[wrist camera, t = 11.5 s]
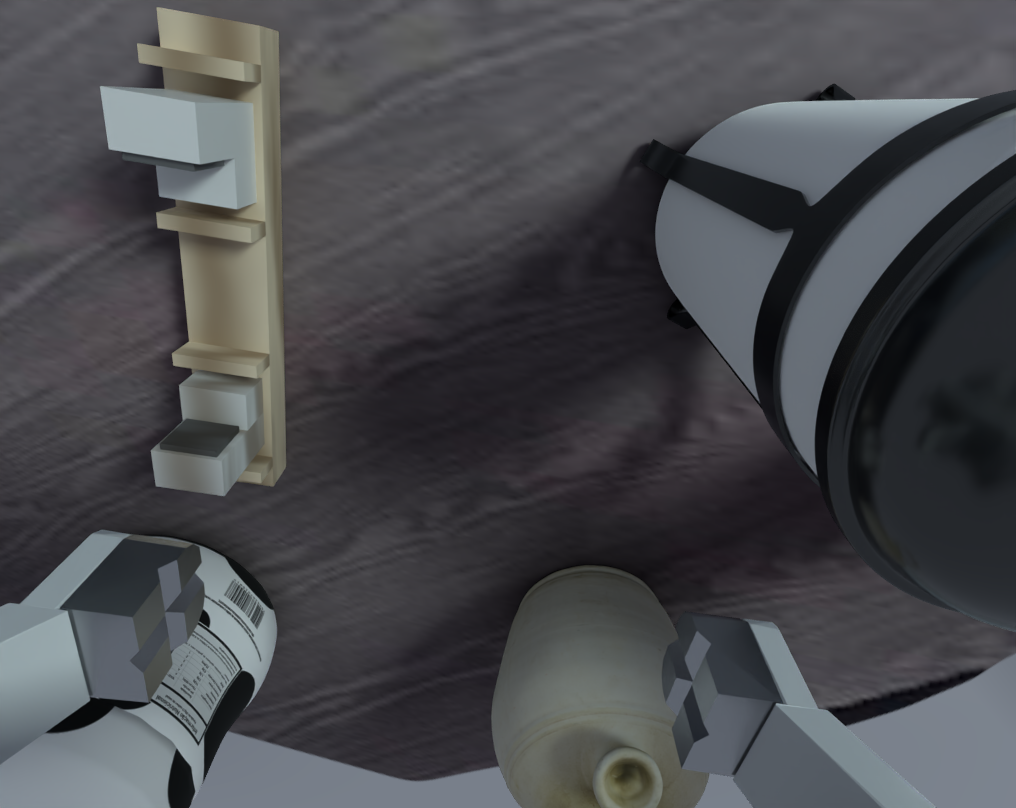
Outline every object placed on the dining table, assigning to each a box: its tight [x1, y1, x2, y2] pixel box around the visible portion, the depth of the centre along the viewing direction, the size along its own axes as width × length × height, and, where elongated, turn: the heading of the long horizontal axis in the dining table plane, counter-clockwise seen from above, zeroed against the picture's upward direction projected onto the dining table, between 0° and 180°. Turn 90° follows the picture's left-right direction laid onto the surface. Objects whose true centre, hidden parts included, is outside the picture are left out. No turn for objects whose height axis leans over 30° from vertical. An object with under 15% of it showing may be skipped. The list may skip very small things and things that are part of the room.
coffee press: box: [640, 84, 1016, 632], centre depth 22 cm, size 17×16×30 cm
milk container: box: [0, 535, 277, 808], centre depth 42 cm, size 17×17×18 cm
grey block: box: [100, 86, 257, 209], centre depth 29 cm, size 4×5×6 cm
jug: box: [491, 565, 709, 808], centre depth 39 cm, size 15×16×25 cm
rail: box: [137, 7, 286, 496], centre depth 34 cm, size 5×28×8 cm, turn 171°
